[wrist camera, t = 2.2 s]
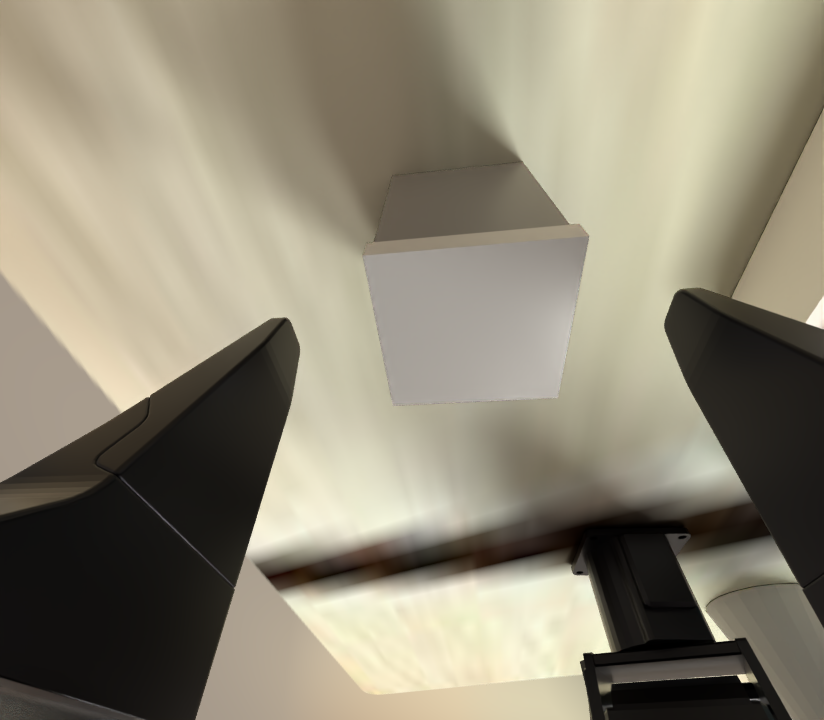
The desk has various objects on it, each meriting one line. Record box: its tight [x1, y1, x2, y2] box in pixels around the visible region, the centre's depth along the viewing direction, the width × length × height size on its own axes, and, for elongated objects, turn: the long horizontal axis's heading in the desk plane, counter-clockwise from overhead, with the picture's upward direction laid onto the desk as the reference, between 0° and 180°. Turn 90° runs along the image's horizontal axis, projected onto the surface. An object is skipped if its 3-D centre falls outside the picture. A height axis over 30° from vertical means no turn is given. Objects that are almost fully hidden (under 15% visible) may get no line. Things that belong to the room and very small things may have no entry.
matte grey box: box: [363, 162, 589, 406], centre depth 11 cm, size 4×4×6 cm
